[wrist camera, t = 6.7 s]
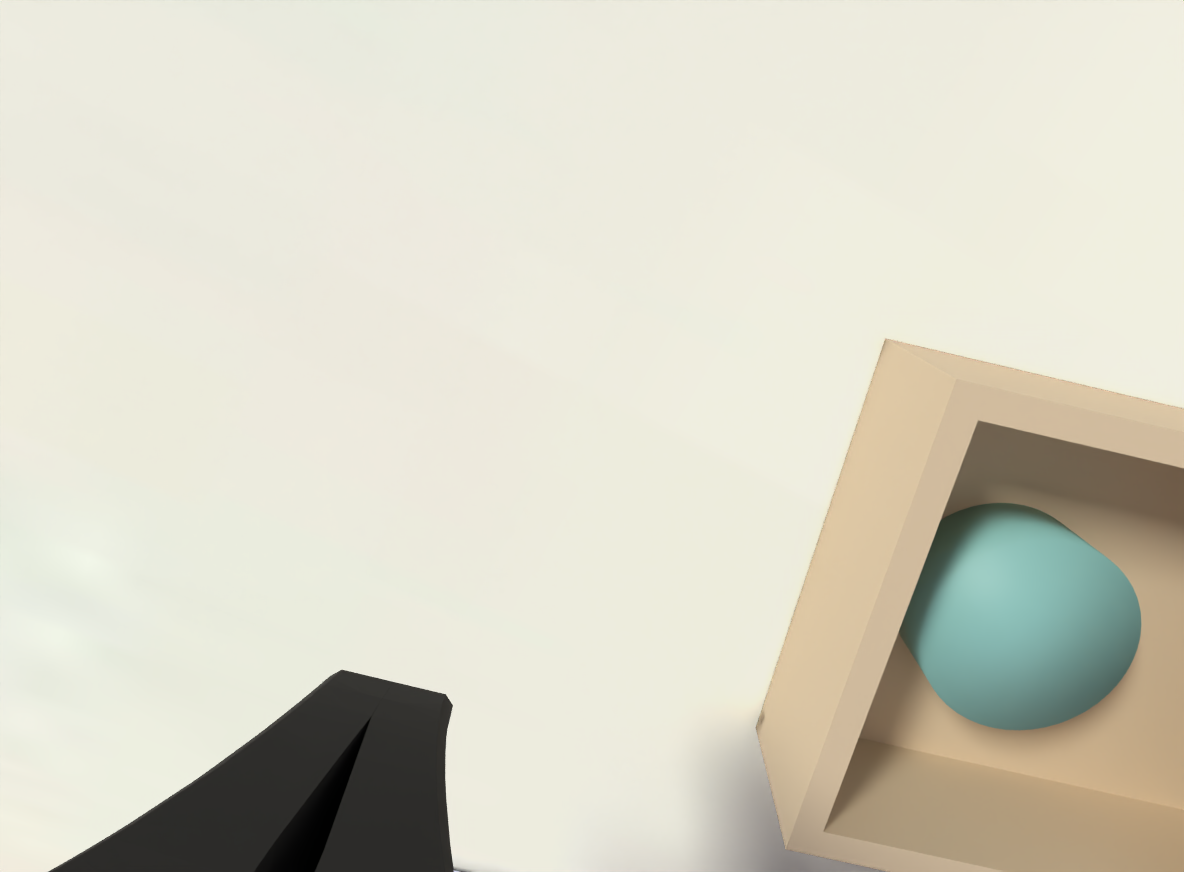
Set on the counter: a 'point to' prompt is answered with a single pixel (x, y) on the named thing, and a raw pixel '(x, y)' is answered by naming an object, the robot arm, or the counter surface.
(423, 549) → the counter surface
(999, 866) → the box
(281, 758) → the robot arm
